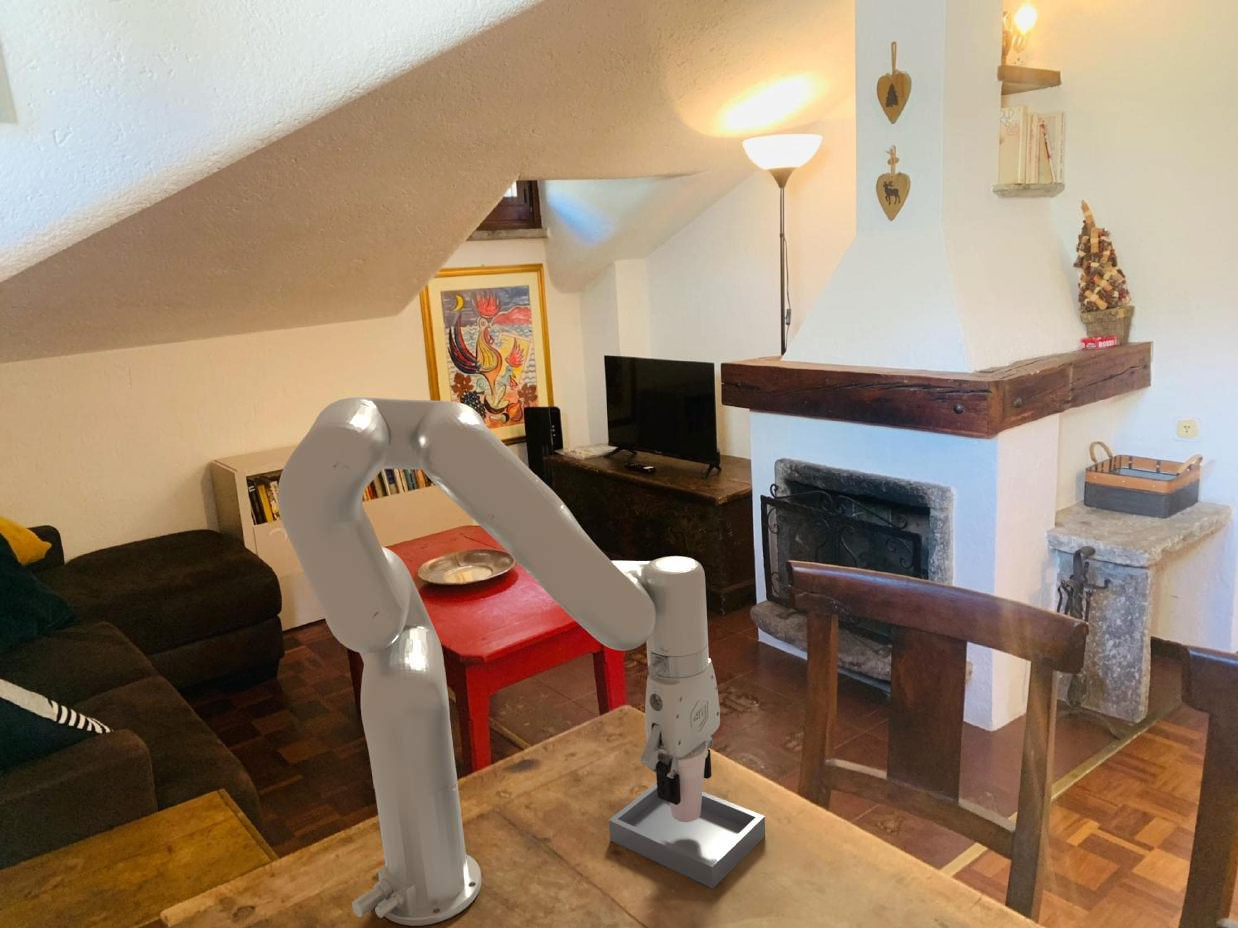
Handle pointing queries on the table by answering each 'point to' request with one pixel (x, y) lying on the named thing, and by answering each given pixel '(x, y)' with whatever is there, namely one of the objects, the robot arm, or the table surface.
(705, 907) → the table surface
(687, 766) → the smoothie
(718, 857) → the grey tray
